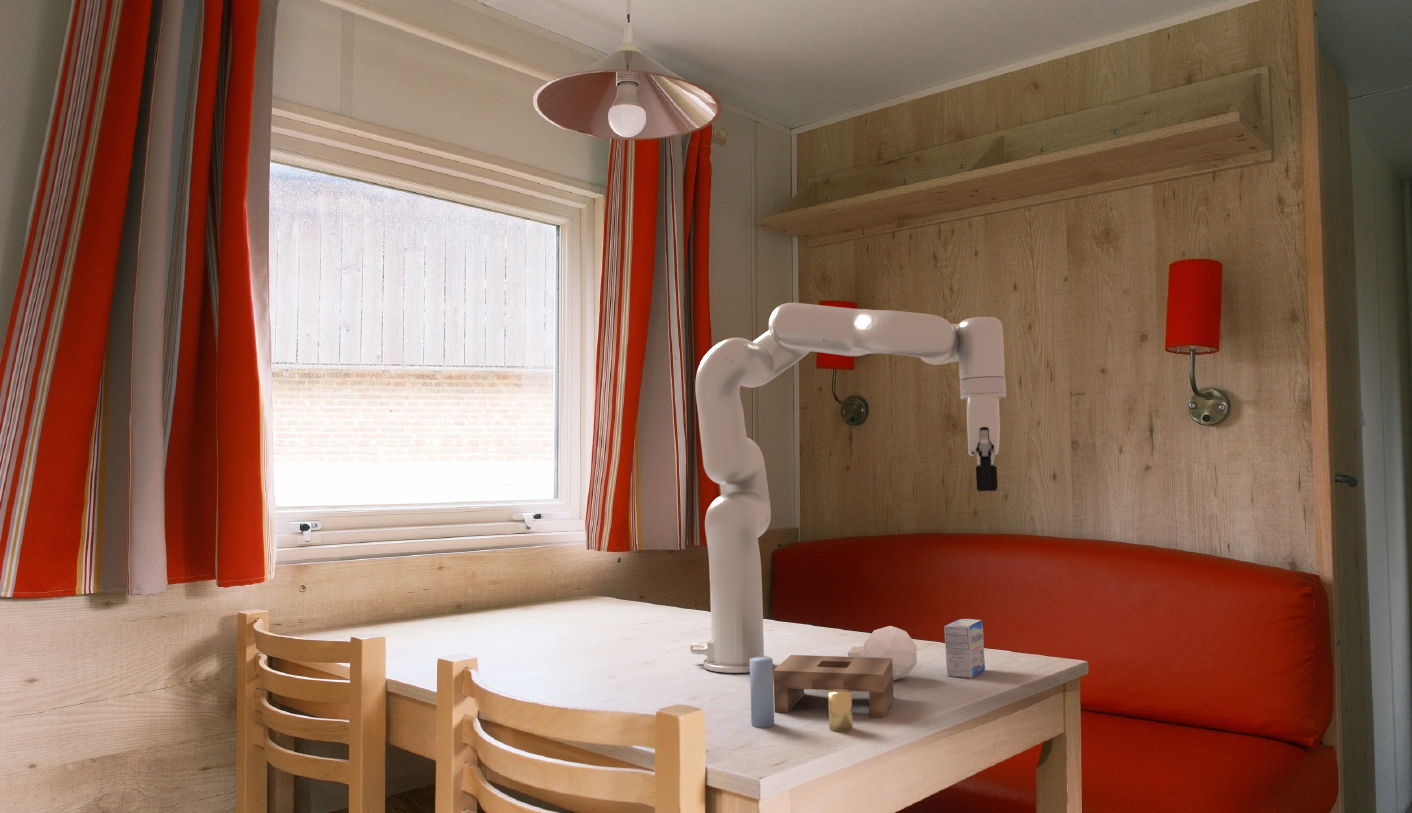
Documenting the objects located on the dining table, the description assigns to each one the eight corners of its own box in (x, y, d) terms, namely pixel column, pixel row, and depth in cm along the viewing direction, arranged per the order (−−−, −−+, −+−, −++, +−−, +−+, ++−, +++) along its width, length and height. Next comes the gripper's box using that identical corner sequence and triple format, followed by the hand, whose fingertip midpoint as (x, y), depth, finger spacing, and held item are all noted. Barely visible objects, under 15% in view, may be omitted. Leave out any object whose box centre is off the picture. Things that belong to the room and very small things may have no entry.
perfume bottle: (932, 664, 159) (869, 666, 166) (916, 615, 158) (854, 618, 165) (913, 690, 152) (848, 691, 159) (896, 638, 151) (832, 641, 159)
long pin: (748, 726, 130) (746, 660, 131) (754, 720, 134) (752, 656, 134) (771, 727, 130) (769, 661, 130) (776, 721, 133) (774, 657, 133)
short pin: (827, 731, 127) (825, 693, 128) (831, 725, 130) (830, 688, 131) (850, 732, 126) (849, 694, 127) (854, 726, 129) (853, 689, 130)
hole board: (774, 711, 138) (773, 670, 139) (792, 692, 150) (790, 654, 150) (884, 717, 133) (882, 674, 134) (893, 697, 145) (892, 658, 145)
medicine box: (972, 679, 156) (970, 626, 157) (946, 676, 159) (943, 624, 159) (985, 670, 163) (983, 619, 164) (960, 667, 165) (957, 617, 166)
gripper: (962, 394, 170) (966, 489, 169) (957, 387, 154) (962, 491, 152) (1005, 392, 168) (1010, 488, 167) (1005, 384, 151) (1011, 490, 150)
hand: (987, 489), depth 160 cm, fingers open, 9 cm apart
